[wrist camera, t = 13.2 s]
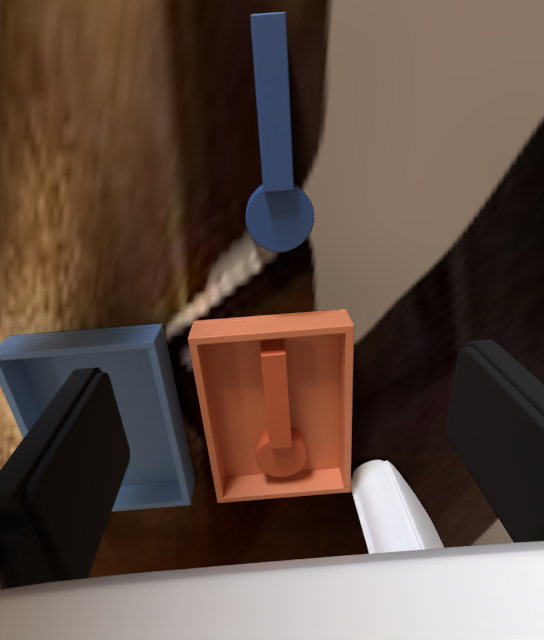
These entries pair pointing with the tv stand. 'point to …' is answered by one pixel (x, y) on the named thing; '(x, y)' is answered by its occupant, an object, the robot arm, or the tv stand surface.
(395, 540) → the photo printer
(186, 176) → the tv stand surface
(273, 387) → the terracotta spoon
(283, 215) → the blue spoon
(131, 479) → the blue tray
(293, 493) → the terracotta tray
